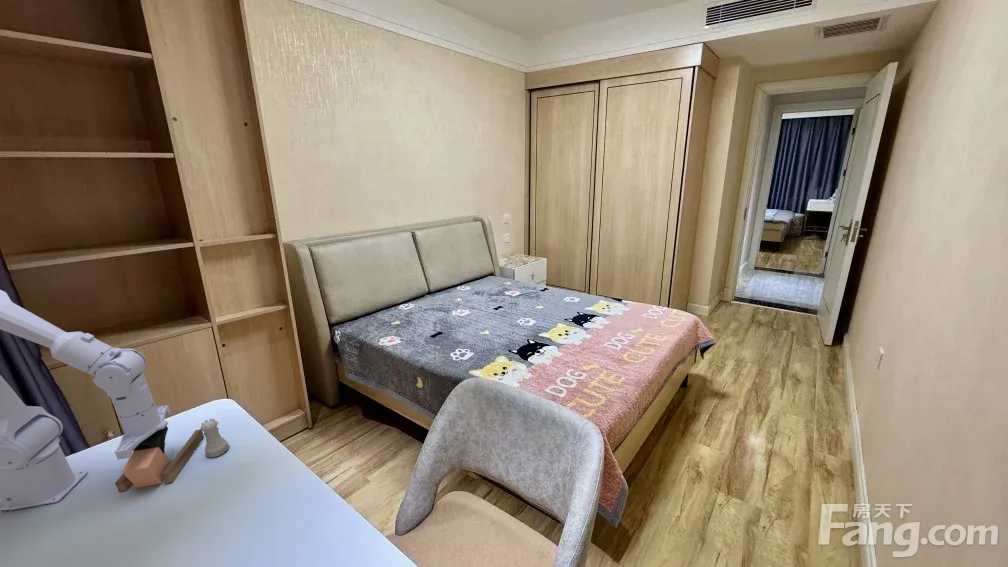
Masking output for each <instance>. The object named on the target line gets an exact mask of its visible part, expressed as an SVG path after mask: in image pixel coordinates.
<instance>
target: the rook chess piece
mask: <svg viewBox="0 0 1008 567" xmlns="http://www.w3.org/2000/svg"><path fill="white" fill-rule="evenodd" d="M218 425H219V421H216V419H215V418H209V420H208V419H206V420H204V422H202V423H201V426H200V428H199V430H202V432H203V435H204V437H205V440H206V441H205V442H206V444H205V448H204V452H205V456H206V457H208V458H210V459H211V458H212V459H213V458H218V457H220V456H222V455H224V454H225V453H226V452H227V450H229V446H230V444H228V441H227V440H226V439H225V438H224V437H223V436H222V435H221V434H220V431H219V430H220V428H219V427H218ZM225 451H226V452H225ZM224 452H225V453H224ZM223 453H224V454H223ZM221 454H222V455H221ZM217 456H218V457H217Z"/></svg>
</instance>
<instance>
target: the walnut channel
mask: <svg viewBox="0 0 1008 567" xmlns="http://www.w3.org/2000/svg"><path fill="white" fill-rule="evenodd" d="M203 438H204V439H205V435H204V431H202V430H200V429H196V430H194V432H193V433H192V435H191V436H190V437H189V438H188V440H187V441H186V442H185V444H184V445H182V448H181V449H180V450H179V452H178V453H177V454H175V457H174V458H173V459H172V460H171V461H170V462H171V463H170V464H169V466H168V467H167V468H166V470H165V471H164V472H163V474H162V477H163V479H164V481H163V482H164V484H165V485H170V484H173V483H174V481H175V480H176V478H177V477H178V475H179V474H180V473H181V471H182V470H183V468H184V467H185V465H186V464H187V463H188V461H190V459H191V457H192V456H193V455H192V454H195V452H196V450H197V449H198V448H199V446H200V445H201V443H202V442H203V441H204V439H203ZM202 440H203V441H202ZM201 441H202V442H201ZM200 442H201V443H200ZM199 444H200V445H199ZM197 447H198V448H197ZM196 448H197V449H196ZM194 451H195V452H194ZM114 484H115V486H116V488H117V490H118V492H119V493H122V492H127V491H128V490H129V489H130V487H131V486H132V485H134V484H133V483H132V482H131V481H130V480H129V479H128V478H127V477H126V476H125V475H124V474H123V473H122V474H121V475H120V476H119V478H118V479H117V480H116V481H115V483H114Z"/></svg>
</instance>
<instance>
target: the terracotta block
mask: <svg viewBox="0 0 1008 567" xmlns="http://www.w3.org/2000/svg"><path fill="white" fill-rule="evenodd" d="M171 462H172V461H170V459H169V458H168V457H167V456H166V454H165V455H164V453H163V452H162V451H161V449H160V448H159V447H156V448H150V449H144V450H138V451H132V456H131V457H130V458H128V461H126V464H125V465H124V467H123V469H122V470H121V473H122V474H124V475H125V476H126V477H127V478H128V479H129V480H130V481H131V482H132V483H133V484H132V485H133V486H134V487H136V489H139V488H144V487H151V486H156V485H161V484H163V482H164V479H163V477H162V474H163V472H164V471H165V470H166V468H167V467H168V466H169V464H170V463H171Z"/></svg>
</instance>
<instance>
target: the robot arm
mask: <svg viewBox="0 0 1008 567" xmlns="http://www.w3.org/2000/svg"><path fill="white" fill-rule="evenodd" d="M0 330H2V331H4V332H7V333H9V334H12V335H14V336H17V337H19V338H22V339H25V340H27V341H30V342H33V343H35V344H38V345H41V346H44V347H45V348H48V349H49V350H50V353H51V357H52V359H55V360H56V361H60V362H61V363H64V364H66V365H68V366H70V367H72V368H74V369H76V370H79V371H81V372H83V373H86V374H88V375H91V376H93V377H94V378H92V382H93V383H94V385H96V386H97V387H98V388H100V389H102V390H104V392H106V395H107V397H109V398H110V400H111V403H112V404H113V408H114V410H115V412H116V414H117V416H118V420H119V422H120V424H121V426H122V429H123V432H124V433H123V435H122V437H121V440H120V442H119V445H118V447H117V448H116V450H115V451H114V455H115V456H116V458H117V460H118V461H119V460H125V459H129V458H130V457H131V456H132V453H133V451H138V450H144V449H150V448H156V447H159V448H160V449H161V451H162V452H163V453H164V455H165V456H166V453H165V449H166V448H165V445H166V436H167V433H168V430H169V427H168V426H167V425H169V422H168V420H165V419H166V416H169V415H170V414H171V409H170V406H169V405H167V404H166V405H160V406H156V403H155V400H154V397H153V394H152V393H151V390H150V387H149V385H148V382H147V379H146V376H145V374H144V370H145V368H146V367H147V359H146V357H145V356H144V354H142V353H141V352H140V351H138V350H137V349H133V348H120V347H113V346H112V345H109V344H107V343H105V342H103V341H101V340H99V339H97V338H95V335H94V334H91V333H89V332H83V331H70V332H67V331H64V330H63V329H61V328H59V327H58V326H56V325H54V324H52V323H50V322H49V321H47V320H45V319H44V318H42V317H40V316H38V315H36V314H34V313H33V312H31V311H28V310H27V309H25V308H24V307H22V306H20V305H18V304H17V303H14V302H13V301H12V299H11V298H10V296H9V295H8V293H7V292H6V291H4V290H1V289H0ZM63 430H64V425H63V423H62V421H61V420H60V419H59V418H58V417H56V416H54V415H53V414H50V413H48V412H47V411H46V410H45V408H44V407H42V406H37V405H36V406H32V405H26V404H25V403H24V402H23V401H22V399H21V398H20V397H19V396H18V394H17V393H16V392H15V391H14V390H13V388H12V387H11V386H10V384H9V383H8V382H7V381H6V379H4V378H3V376H2V375H1V374H0V500H1V502H2V504H3V505H4V506H2V508H1V509H0V510H5V511H4V512H7V511H6V510H9V511H14V510H18V509H24V508H30V507H36V506H43V505H48V504H53V503H58V502H60V501H61V500H62V499H63V498H64V497H65V496H66V495H67V494H68V493H69V492H70V491H71V490H72V489H73V488H75V486H76V485H77V484H79V482H80V481H81V480H82V479H83V478H84V477H86V475H87V474H88V471H87V470H82V471H75V472H73V470H72V468H71V466H70V464H69V462H68V459H67V458H66V455H65V454H64V452H63V450H62V447H61V445H60V442H61V439H60V437H59V436H60V435H61V434H62V433H63Z"/></svg>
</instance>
